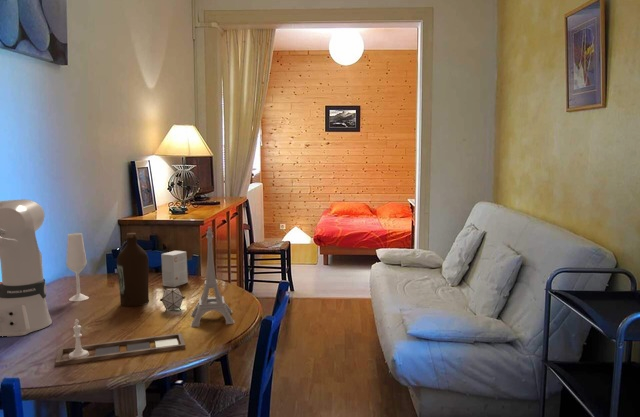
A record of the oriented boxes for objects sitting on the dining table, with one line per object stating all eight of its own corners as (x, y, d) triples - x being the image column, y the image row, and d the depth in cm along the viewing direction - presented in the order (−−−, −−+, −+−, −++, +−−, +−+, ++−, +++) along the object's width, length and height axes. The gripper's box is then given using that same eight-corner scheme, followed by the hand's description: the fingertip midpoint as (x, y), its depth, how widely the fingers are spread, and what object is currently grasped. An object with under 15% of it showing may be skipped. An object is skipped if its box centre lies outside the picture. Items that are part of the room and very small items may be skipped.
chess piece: (91, 352, 142) (89, 316, 141) (84, 359, 137) (82, 322, 136) (73, 352, 142) (71, 316, 140) (65, 359, 137) (62, 322, 136)
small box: (176, 281, 217) (175, 250, 216) (188, 282, 214) (187, 251, 213) (162, 285, 210) (160, 253, 209) (174, 287, 207) (172, 255, 206)
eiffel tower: (191, 314, 174) (188, 224, 171) (231, 311, 177) (229, 223, 174) (190, 327, 161) (187, 231, 158) (234, 324, 164) (232, 229, 161)
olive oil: (147, 297, 194) (144, 230, 192) (152, 304, 185) (149, 234, 182) (117, 301, 189) (113, 232, 187) (121, 308, 180) (117, 236, 177)
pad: (156, 350, 143) (156, 349, 143) (154, 341, 149) (154, 340, 149) (179, 347, 145) (179, 346, 145) (176, 338, 151) (176, 338, 151)
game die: (176, 321, 177) (176, 304, 171) (154, 312, 179) (153, 294, 172) (190, 303, 184) (190, 285, 177) (169, 293, 185) (168, 275, 179)
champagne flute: (88, 300, 191) (84, 234, 188) (68, 302, 188) (63, 236, 186) (89, 295, 197) (85, 232, 194) (69, 297, 195) (65, 233, 192)
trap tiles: (94, 358, 137) (94, 357, 137) (95, 349, 144) (95, 348, 144) (150, 351, 142) (150, 350, 142) (149, 342, 149) (149, 341, 149)
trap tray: (55, 366, 133) (55, 362, 133) (59, 351, 142) (59, 348, 142) (185, 348, 144) (185, 344, 144) (181, 336, 153) (181, 333, 153)
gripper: (-72, 228, 122) (-7, 240, 132) (-53, 252, 108) (19, 263, 118) (-63, 202, 122) (2, 216, 132) (-42, 223, 108) (28, 236, 118)
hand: (10, 238), depth 125 cm, fingers open, 8 cm apart
